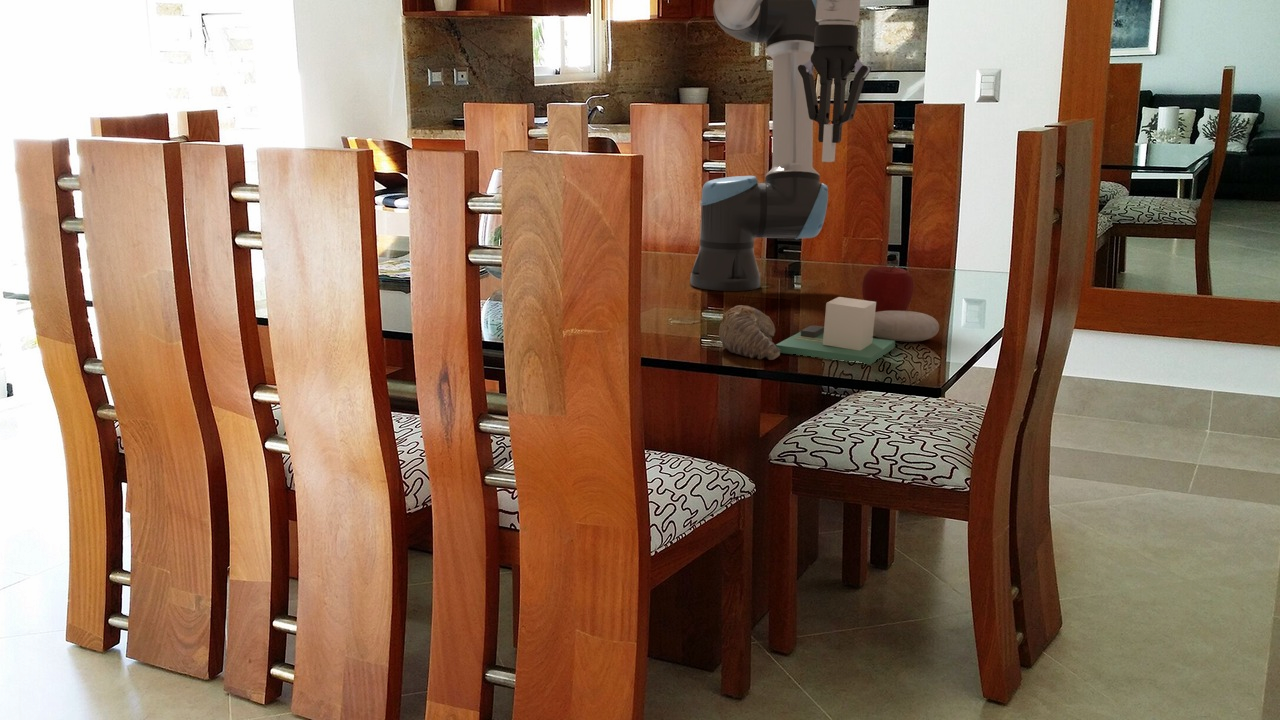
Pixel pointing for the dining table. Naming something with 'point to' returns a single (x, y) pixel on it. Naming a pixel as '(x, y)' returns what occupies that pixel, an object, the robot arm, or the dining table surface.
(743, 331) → the seashell
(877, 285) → the apple
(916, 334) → the decorative stone
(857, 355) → the board
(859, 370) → the dining table surface
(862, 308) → the plug
